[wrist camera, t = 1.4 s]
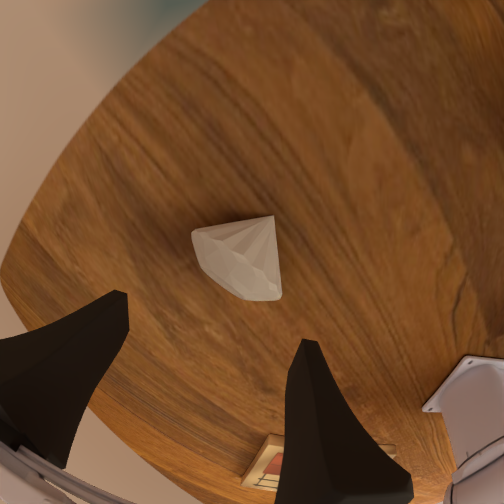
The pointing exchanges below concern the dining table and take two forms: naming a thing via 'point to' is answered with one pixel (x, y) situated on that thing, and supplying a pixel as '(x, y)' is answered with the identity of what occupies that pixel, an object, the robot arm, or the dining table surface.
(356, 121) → the dining table surface
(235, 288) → the gemstone
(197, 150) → the dining table surface
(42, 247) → the dining table surface
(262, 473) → the board
